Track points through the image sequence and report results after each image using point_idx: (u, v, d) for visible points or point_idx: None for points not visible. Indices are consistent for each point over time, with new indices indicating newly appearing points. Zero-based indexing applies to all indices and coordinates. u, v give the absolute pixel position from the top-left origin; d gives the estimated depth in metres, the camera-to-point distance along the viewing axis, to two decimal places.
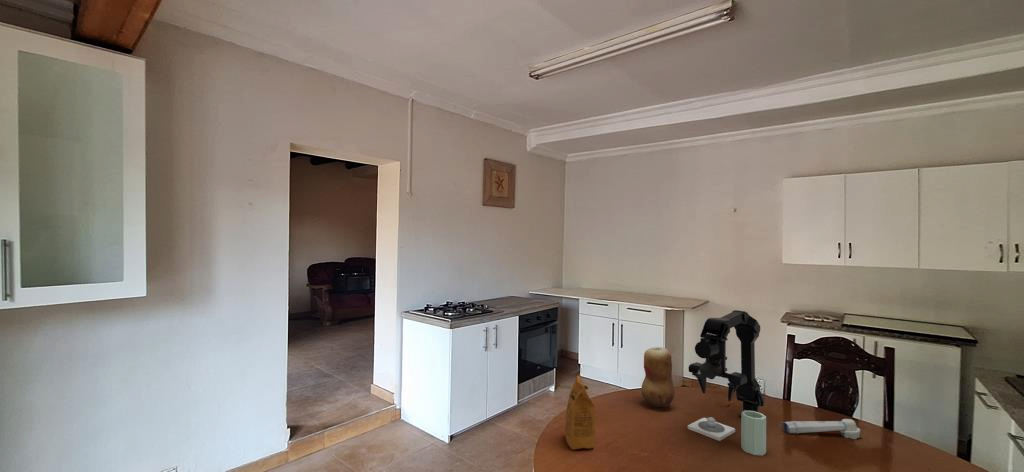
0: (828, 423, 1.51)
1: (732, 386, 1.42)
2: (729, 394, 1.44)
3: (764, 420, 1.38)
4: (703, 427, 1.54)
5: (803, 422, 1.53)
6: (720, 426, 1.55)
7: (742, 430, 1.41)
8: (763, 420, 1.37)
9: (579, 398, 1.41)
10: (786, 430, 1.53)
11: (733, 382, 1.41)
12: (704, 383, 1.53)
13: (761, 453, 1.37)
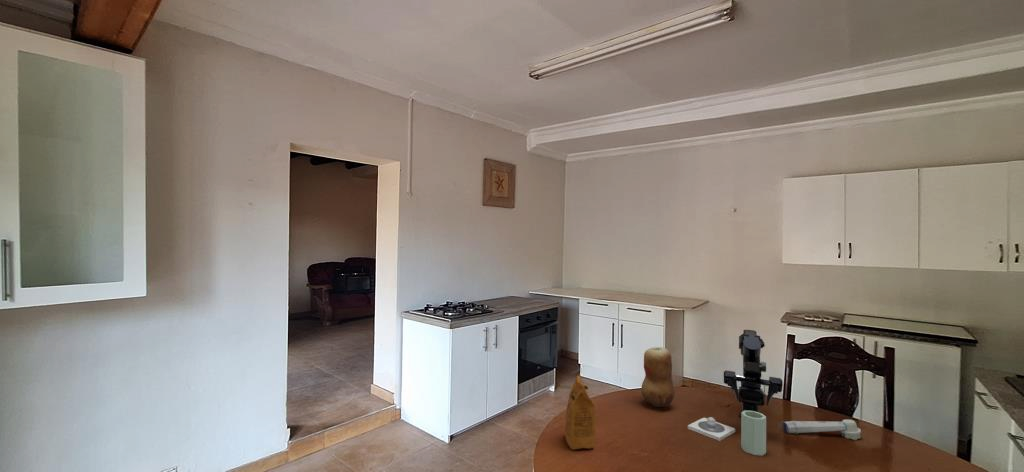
0: (828, 423, 1.51)
1: (773, 386, 1.47)
2: (768, 397, 1.46)
3: (764, 420, 1.38)
4: (703, 427, 1.54)
5: (803, 422, 1.53)
6: (720, 426, 1.55)
7: (742, 430, 1.41)
8: (763, 420, 1.37)
9: (579, 398, 1.41)
10: (785, 430, 1.53)
11: (775, 381, 1.47)
12: (737, 391, 1.52)
13: (761, 453, 1.37)
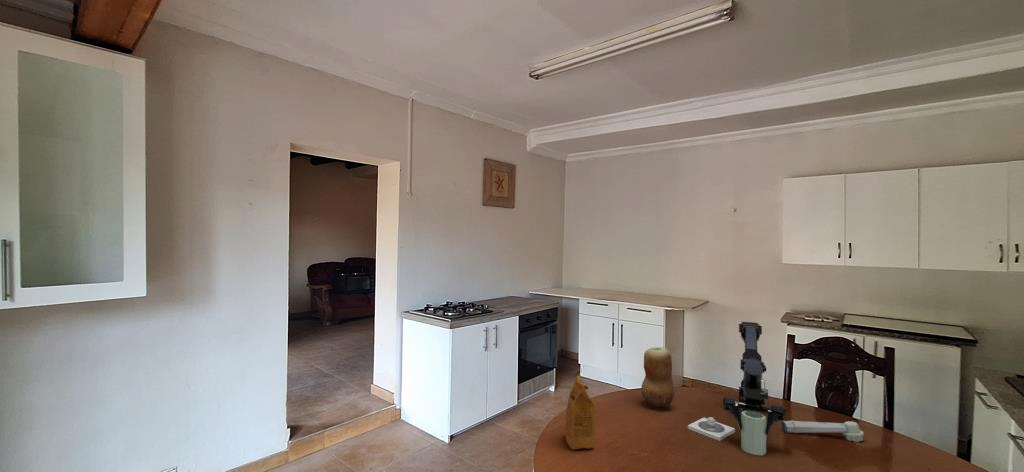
0: (829, 424, 1.50)
1: (773, 415, 1.39)
2: (768, 426, 1.38)
3: (764, 420, 1.38)
4: (703, 427, 1.54)
5: (802, 422, 1.53)
6: (720, 426, 1.55)
7: (742, 430, 1.41)
8: (763, 420, 1.37)
9: (579, 398, 1.41)
10: (784, 429, 1.54)
11: (778, 410, 1.39)
12: None
13: (761, 453, 1.37)
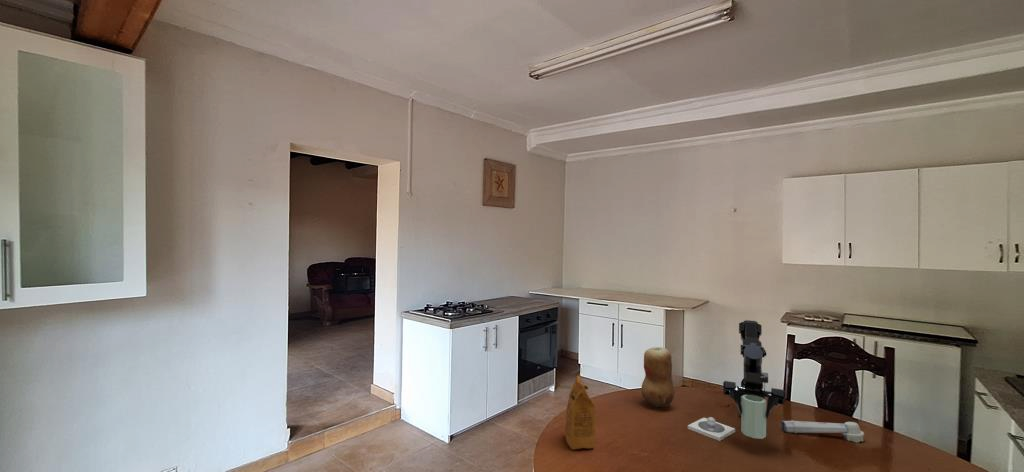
0: (829, 424, 1.50)
1: (773, 398, 1.39)
2: (768, 409, 1.38)
3: (764, 403, 1.38)
4: (703, 427, 1.54)
5: (802, 422, 1.53)
6: (720, 426, 1.55)
7: (742, 414, 1.41)
8: (763, 403, 1.37)
9: (579, 398, 1.41)
10: (784, 429, 1.54)
11: (778, 393, 1.39)
12: None
13: (761, 436, 1.37)
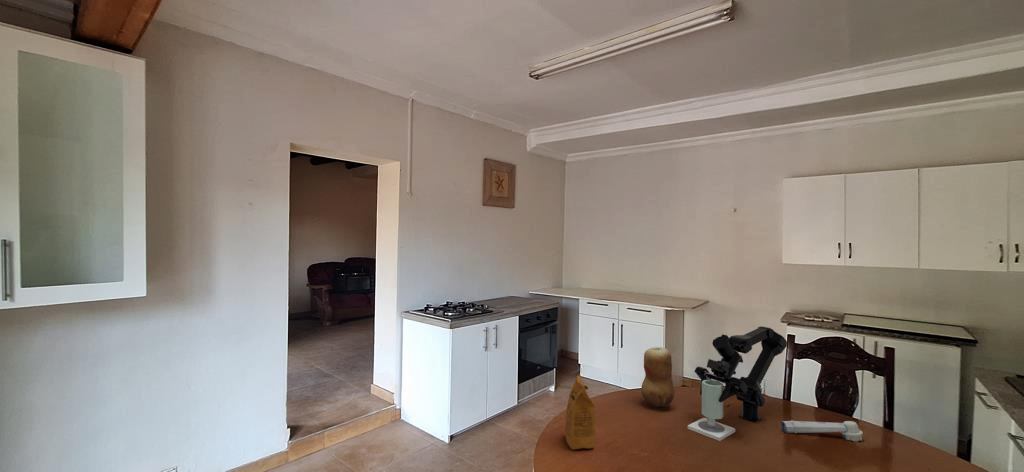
0: (828, 424, 1.50)
1: (729, 385, 1.50)
2: (722, 394, 1.50)
3: (717, 388, 1.51)
4: (703, 427, 1.54)
5: (802, 422, 1.53)
6: (720, 426, 1.55)
7: None
8: (715, 387, 1.51)
9: (579, 398, 1.41)
10: (784, 429, 1.54)
11: (734, 381, 1.49)
12: None
13: (712, 417, 1.51)
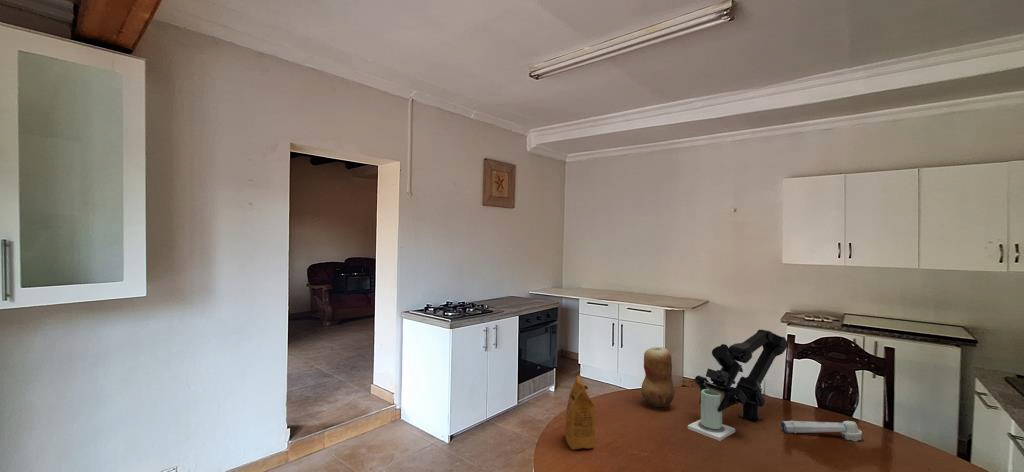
0: (828, 424, 1.50)
1: (728, 395, 1.50)
2: (721, 404, 1.51)
3: (716, 398, 1.51)
4: (703, 427, 1.54)
5: (802, 422, 1.53)
6: None
7: None
8: (714, 397, 1.51)
9: (579, 398, 1.41)
10: (784, 429, 1.54)
11: (733, 391, 1.49)
12: None
13: (711, 426, 1.51)
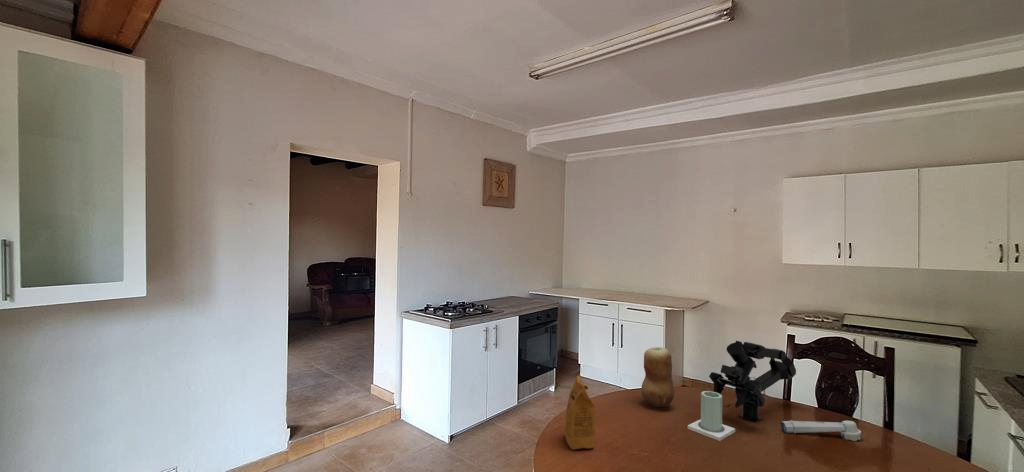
0: (827, 424, 1.51)
1: (745, 391, 1.54)
2: (738, 399, 1.54)
3: (716, 399, 1.51)
4: (703, 427, 1.54)
5: (801, 422, 1.53)
6: None
7: None
8: (714, 399, 1.51)
9: (579, 398, 1.41)
10: (783, 429, 1.54)
11: (747, 386, 1.54)
12: (718, 392, 1.64)
13: (711, 428, 1.51)
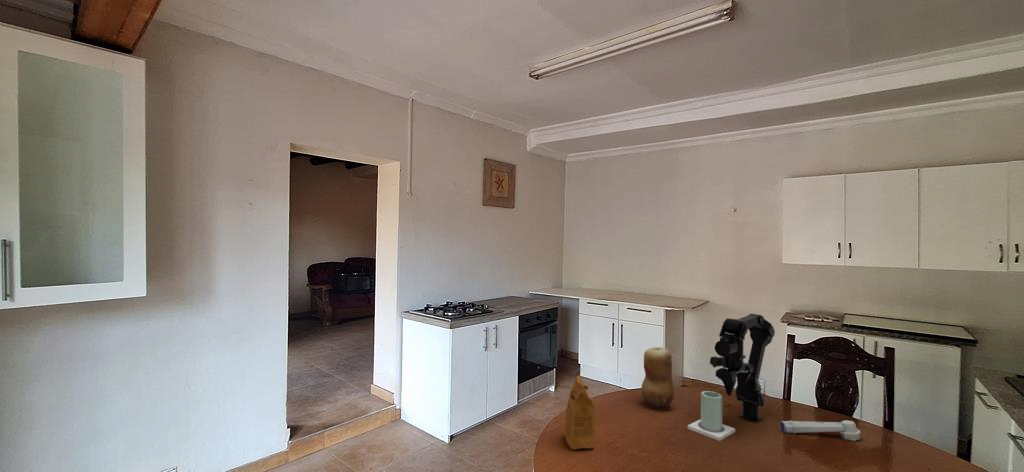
0: (827, 424, 1.51)
1: None
2: None
3: (716, 399, 1.51)
4: (703, 427, 1.54)
5: (801, 422, 1.53)
6: None
7: None
8: (714, 399, 1.51)
9: (579, 398, 1.41)
10: (783, 429, 1.54)
11: None
12: (741, 381, 1.60)
13: (711, 428, 1.51)
